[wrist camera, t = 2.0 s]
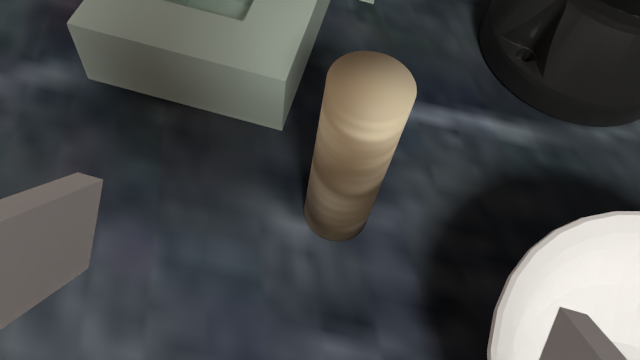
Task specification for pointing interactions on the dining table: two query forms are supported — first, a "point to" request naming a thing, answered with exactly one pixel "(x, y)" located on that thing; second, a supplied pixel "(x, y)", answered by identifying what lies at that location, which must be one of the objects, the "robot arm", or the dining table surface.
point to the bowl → (573, 286)
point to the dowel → (356, 140)
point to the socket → (202, 51)
